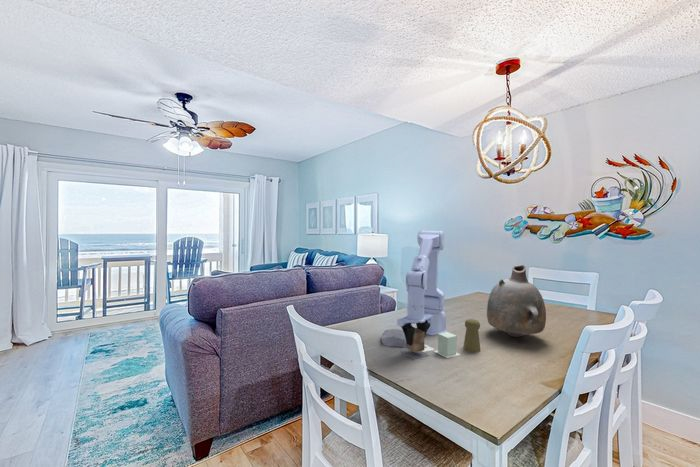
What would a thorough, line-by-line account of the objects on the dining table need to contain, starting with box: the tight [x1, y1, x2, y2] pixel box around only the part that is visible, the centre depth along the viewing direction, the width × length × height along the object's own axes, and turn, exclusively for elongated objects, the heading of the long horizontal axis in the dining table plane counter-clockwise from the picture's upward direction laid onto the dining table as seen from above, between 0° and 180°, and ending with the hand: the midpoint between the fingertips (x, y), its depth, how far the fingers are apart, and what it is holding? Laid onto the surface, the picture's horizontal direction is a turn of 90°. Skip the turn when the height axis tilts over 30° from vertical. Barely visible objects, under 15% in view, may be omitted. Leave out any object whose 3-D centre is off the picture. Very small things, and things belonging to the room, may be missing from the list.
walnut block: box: [405, 327, 426, 353], centre depth 107 cm, size 4×4×6 cm
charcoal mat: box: [400, 349, 430, 361], centre depth 108 cm, size 7×7×1 cm
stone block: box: [380, 328, 406, 348], centre depth 120 cm, size 12×5×10 cm
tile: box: [433, 349, 461, 359], centre depth 109 cm, size 6×6×1 cm
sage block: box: [437, 331, 458, 356], centre depth 109 cm, size 4×4×6 cm
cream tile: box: [423, 343, 435, 353], centre depth 113 cm, size 6×6×1 cm
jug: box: [486, 264, 547, 338], centre depth 126 cm, size 24×21×30 cm
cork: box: [462, 318, 481, 353], centre depth 113 cm, size 6×6×11 cm
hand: (414, 343), depth 107 cm, fingers closed on walnut block, 4 cm apart
